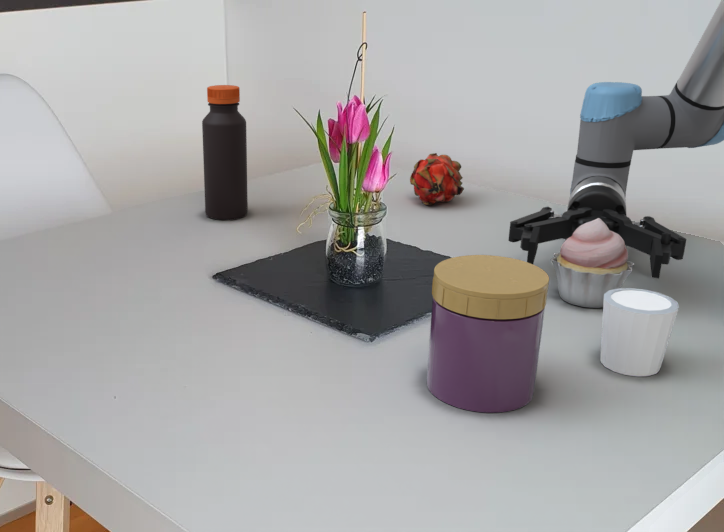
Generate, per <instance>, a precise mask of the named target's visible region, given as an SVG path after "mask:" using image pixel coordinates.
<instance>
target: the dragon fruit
mask: <svg viewBox="0 0 724 532" xmlns="http://www.w3.org/2000/svg"><path fill="white" fill-rule="evenodd" d="M461 169H462V165H461V163H460V162H459V161H457V160H452V158H451V156H450V155H447V154H439V155H438V153H437V152H433V153H429V154H428V155H427V157H426V158H425V159H419V160H418V161H416V162H415V164H414V165H413V170H412V173H411V174H410V177H409V184H410V185H413V192H414V196H416V197H418V198H419V200H420V201H421V203H422V204H424V205H425V206H431V205H434V204H435V203H436V202H440V203H443V202H444V203H449V202H451V201H452V200H453V199H454V198H455V197H456V196H459V195H461V194H462V193H463V192H464V191H465V188H464V187H463V186H462V185H463V182H462V180H463V178H464V177H463V176H462V174H461V172H460V170H461Z"/></svg>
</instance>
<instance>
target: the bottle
mask: <svg viewBox="0 0 724 532" xmlns="http://www.w3.org/2000/svg"><path fill="white" fill-rule="evenodd" d="M240 91H241V90H240V87H239V86H238V85H233V84H232V85H231V84H217V85H216V84H215V85H209V86H207V87H206V94H207V95H206V96H207V97H206V98H207V100H206V101H207V106H209V112H208V113H207V114H206V115H205V117H204V118H203V119H202V121H201V127H202V128H201V129H202V154H203V159H202V160H203V183H204V184H203V187H204V212H205V216H207V217H208V218H210V219H212V220H219V221H231V220H232V221H233V220H238V219H239V220H240V219H242V218H244V217H246V216H247V214H248V211H249V210H248V209H249V207H248V203H249V202H248V151H247V150H248V149H247V147H248V146H247V143H248V142H247V120H246V119H245V118H246V117H244V116H243V114H241V113H240V111H239V106H240V102H241V96H240V93H241V92H240Z"/></svg>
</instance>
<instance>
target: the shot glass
mask: <svg viewBox="0 0 724 532" xmlns="http://www.w3.org/2000/svg"><path fill="white" fill-rule="evenodd" d="M679 308H680V305H679V303H678V301H677V300H675V299H674V298H673V297H671V296H668V295H666V294H664V293H662V292H658V291H654V290H650V289H647V288H635V287H621V288H618V289H614V290H609V291H608V292H606V293H605V294H604V303H603V307H602V321H601V322H602V324H601V338H600V339H601V342H600V356H599V357H600V363H601V364H602V365H603V366H604V367H605V368H606V369H608V370H610V371H611V372H614V373H618V374H621V375H625V376H631V377H650V376H653V375H657V373H658V372H659V371H660V370H661V367H662V365H663V360H664V358H665V355H666V351H667V348H668V345H669V341H670V338H671V335H672V331H673V328H674V325H675V321H676V318H677V315H678V312H679Z"/></svg>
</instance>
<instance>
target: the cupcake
mask: <svg viewBox="0 0 724 532" xmlns="http://www.w3.org/2000/svg"><path fill="white" fill-rule="evenodd" d="M628 259H629V252H628V248H627V247H626V245H625V242H624V240H623V239H622V237H621V236H620V235H619V234H617V233H615V232H613V231H610V230H609V228H608V227H607V225H606V224H605V223H604V222H603V221H602V220H601V219H600V218H597V219H595V220H593V221H591V222H587V223H585V224H583V225H581V226H579V227H578V228H577V229H576V230H575V231H574V233H573V235H572V236H571V237H569V238H568V239H566V240H564V241H563V242H562V245H560V250H559V251H558V252H553V257H552V258H550V261H551V264H552V266H553V269H554V271H555V274H556V281H557V287H558V289H557V290H558V294H559V296H560V298H561V299H562V301H565V303H568V304H570V305H574V306H578V307H583V308H591V309H593V308H594V309H601V308H603V303H604V294H605V293H606V292H608V291H609V290H614V289H618V288H622V286H623V284H624V283H625V281H626V279H627V278H628V277H629V276H630V274H631V273H632V272H633V267H634V265H635V263H634V262H633V261H629V260H628Z"/></svg>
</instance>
